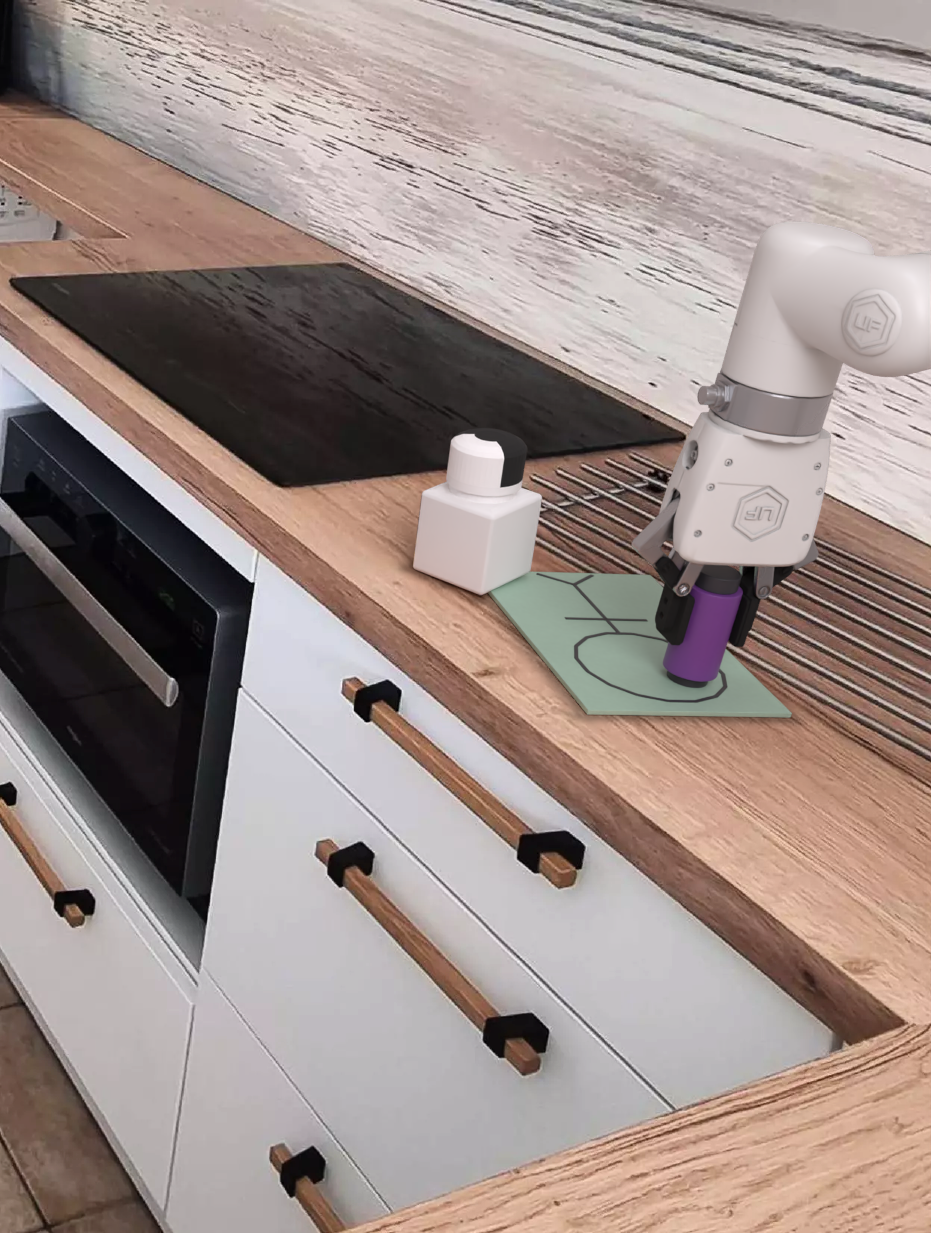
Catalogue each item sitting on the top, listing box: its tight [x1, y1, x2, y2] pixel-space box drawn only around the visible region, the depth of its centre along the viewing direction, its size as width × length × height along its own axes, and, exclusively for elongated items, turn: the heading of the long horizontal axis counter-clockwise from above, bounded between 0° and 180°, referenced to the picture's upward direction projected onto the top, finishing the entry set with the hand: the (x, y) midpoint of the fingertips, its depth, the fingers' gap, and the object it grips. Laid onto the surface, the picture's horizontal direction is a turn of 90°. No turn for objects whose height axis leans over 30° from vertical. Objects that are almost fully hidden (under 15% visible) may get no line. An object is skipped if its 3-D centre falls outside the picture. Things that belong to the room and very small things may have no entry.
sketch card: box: [486, 571, 793, 719], centre depth 139 cm, size 24×16×1 cm, turn 8°
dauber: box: [663, 564, 743, 688], centre depth 131 cm, size 4×4×9 cm
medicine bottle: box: [412, 427, 543, 596], centre depth 145 cm, size 7×7×12 cm
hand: (699, 635), depth 131 cm, fingers open, 4 cm apart
